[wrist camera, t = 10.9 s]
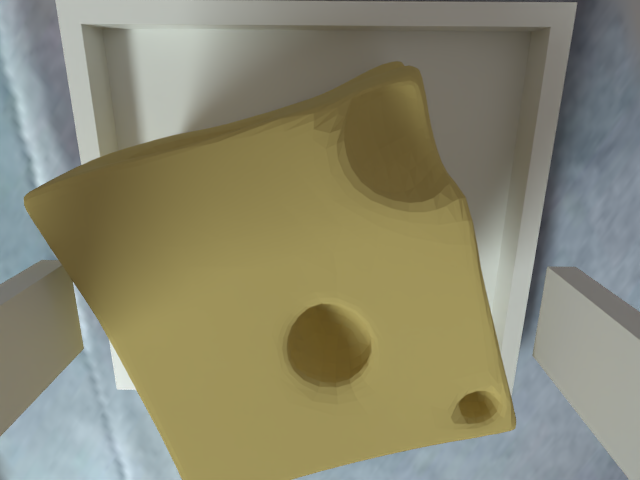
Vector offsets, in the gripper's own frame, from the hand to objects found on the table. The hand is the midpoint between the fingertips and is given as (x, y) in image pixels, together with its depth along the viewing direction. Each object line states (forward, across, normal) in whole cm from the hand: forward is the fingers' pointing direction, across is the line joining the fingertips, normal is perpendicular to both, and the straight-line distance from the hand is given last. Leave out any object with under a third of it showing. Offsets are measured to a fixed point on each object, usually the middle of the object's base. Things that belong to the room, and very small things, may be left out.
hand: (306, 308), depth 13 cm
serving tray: (+9, 0, -1) cm, 9 cm away
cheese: (+9, 0, 0) cm, 9 cm away
